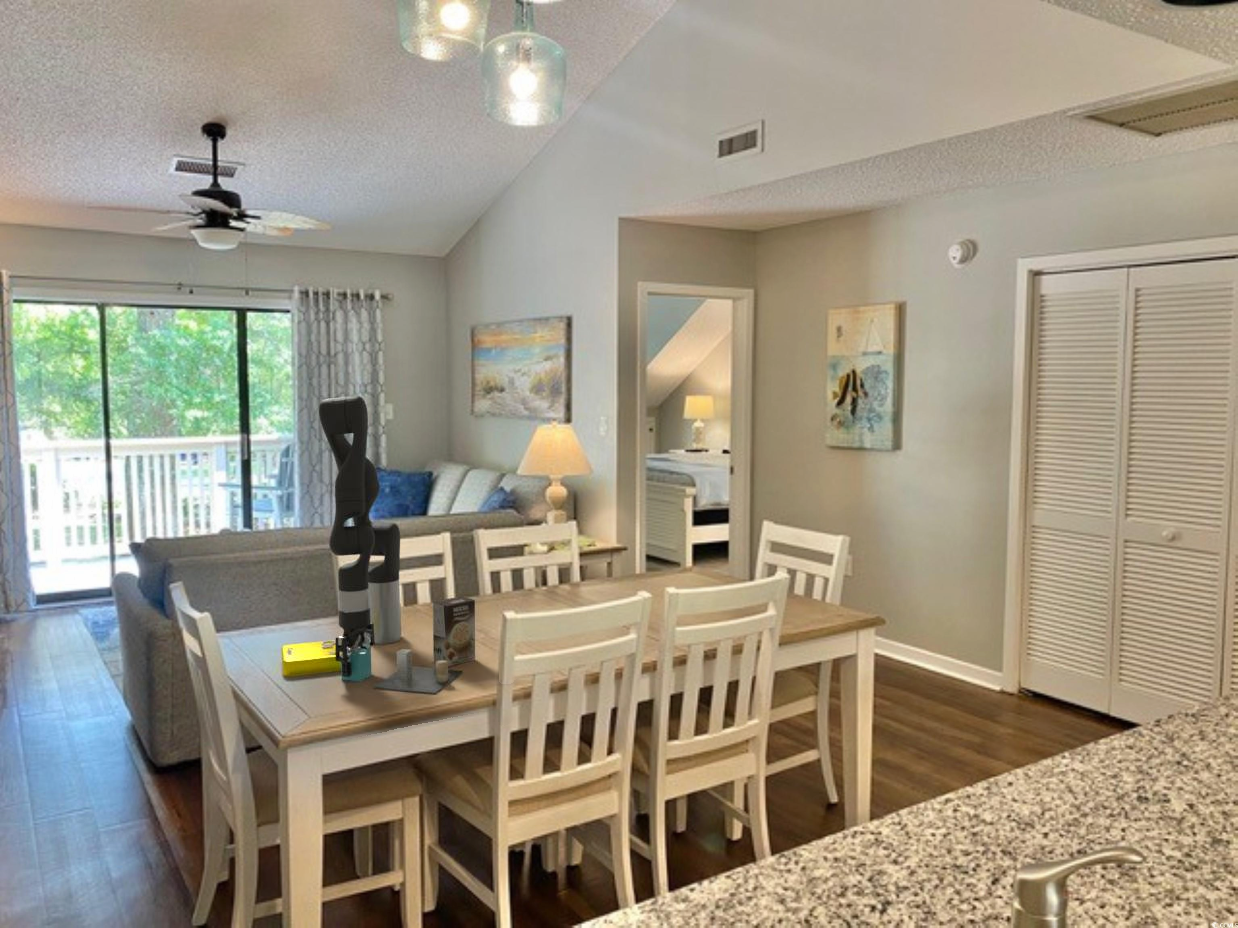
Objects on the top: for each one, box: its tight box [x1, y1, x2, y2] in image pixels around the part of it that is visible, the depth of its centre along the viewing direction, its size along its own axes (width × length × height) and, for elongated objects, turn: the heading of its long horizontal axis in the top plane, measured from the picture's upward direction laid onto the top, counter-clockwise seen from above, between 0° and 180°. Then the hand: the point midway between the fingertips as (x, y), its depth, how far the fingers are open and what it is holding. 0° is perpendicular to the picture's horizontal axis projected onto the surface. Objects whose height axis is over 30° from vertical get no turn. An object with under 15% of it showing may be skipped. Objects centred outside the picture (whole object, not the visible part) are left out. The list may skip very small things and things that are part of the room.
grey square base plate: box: [373, 648, 464, 695], centre depth 223 cm, size 16×16×7 cm
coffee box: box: [432, 596, 476, 667], centre depth 237 cm, size 9×6×16 cm
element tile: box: [280, 639, 342, 677], centre depth 235 cm, size 15×15×5 cm
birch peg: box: [435, 661, 449, 683], centre depth 222 cm, size 3×3×5 cm
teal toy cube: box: [340, 647, 372, 682], centre depth 225 cm, size 5×5×7 cm
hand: (356, 670), depth 225 cm, fingers open, 8 cm apart
